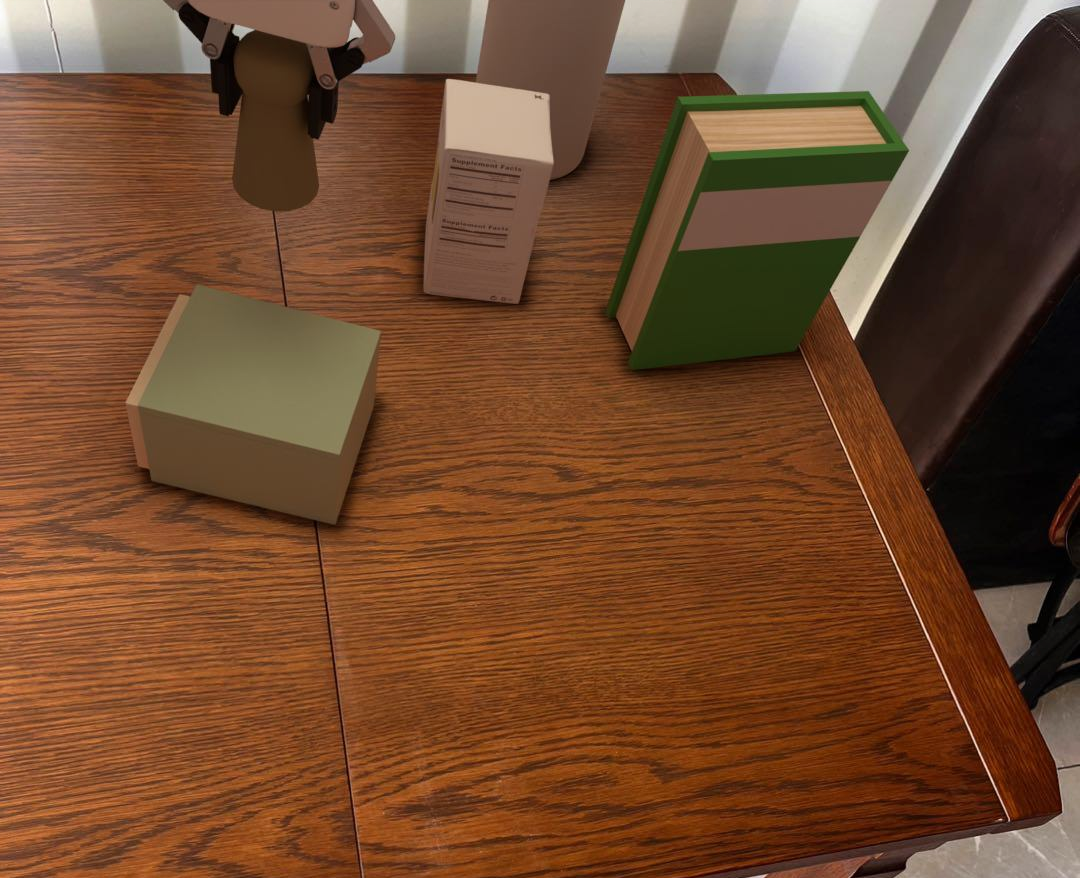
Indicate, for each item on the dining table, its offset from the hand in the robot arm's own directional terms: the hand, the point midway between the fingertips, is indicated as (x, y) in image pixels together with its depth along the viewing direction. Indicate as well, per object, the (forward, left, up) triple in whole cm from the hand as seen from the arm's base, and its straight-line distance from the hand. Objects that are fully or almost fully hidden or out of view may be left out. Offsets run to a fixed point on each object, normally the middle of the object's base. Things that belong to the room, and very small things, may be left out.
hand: (275, 112), depth 73 cm
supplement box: (+14, +18, -25) cm, 34 cm away
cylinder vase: (+16, +38, -25) cm, 48 cm away
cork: (0, 0, -6) cm, 6 cm away
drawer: (-1, -8, -24) cm, 26 cm away
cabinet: (+2, -8, -25) cm, 27 cm away
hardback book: (+37, +17, -25) cm, 48 cm away
